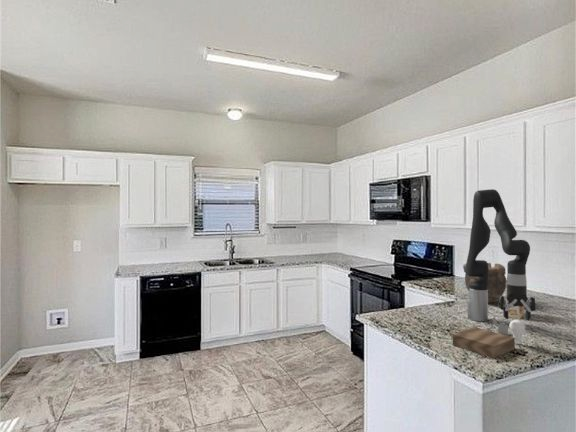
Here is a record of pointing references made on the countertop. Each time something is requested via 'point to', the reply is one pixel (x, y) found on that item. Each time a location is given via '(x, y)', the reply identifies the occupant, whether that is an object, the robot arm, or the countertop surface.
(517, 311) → the coffeecake box
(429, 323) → the countertop surface
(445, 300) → the countertop surface
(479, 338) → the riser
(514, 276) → the robot arm
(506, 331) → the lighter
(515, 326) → the lightbulb
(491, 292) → the clay pot
